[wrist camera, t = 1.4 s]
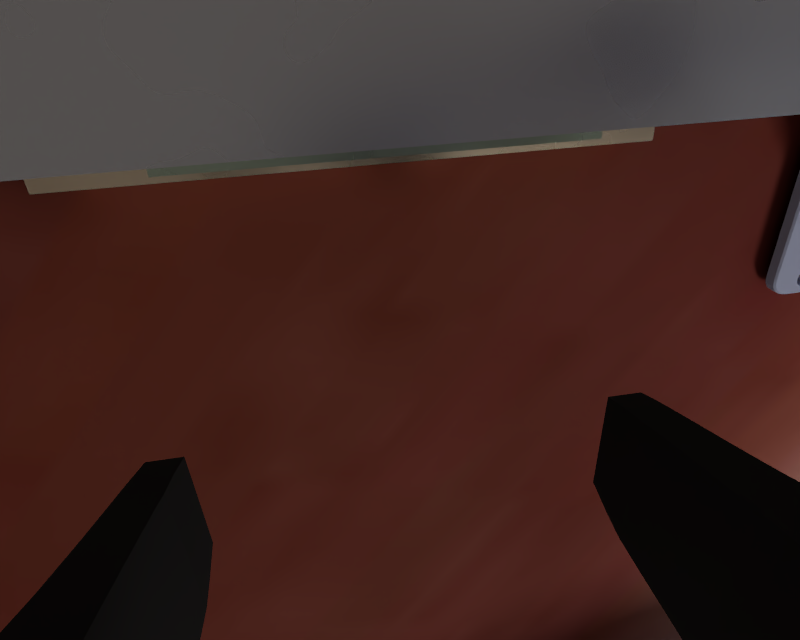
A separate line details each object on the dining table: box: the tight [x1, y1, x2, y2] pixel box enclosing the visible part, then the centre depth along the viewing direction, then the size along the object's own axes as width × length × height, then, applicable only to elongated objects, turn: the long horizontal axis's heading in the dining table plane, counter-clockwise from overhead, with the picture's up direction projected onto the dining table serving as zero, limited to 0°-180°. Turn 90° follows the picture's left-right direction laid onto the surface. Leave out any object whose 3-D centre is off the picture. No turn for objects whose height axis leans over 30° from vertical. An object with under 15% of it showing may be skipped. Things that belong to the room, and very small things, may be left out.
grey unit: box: [0, 0, 800, 194], centre depth 8 cm, size 14×6×7 cm, turn 93°
